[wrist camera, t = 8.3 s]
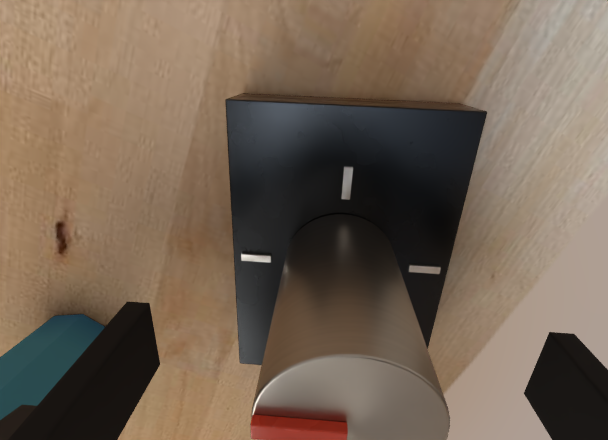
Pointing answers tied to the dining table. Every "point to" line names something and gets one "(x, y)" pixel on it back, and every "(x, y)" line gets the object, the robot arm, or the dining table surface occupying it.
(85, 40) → the dining table surface
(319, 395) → the dial
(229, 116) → the panel
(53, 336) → the cup
